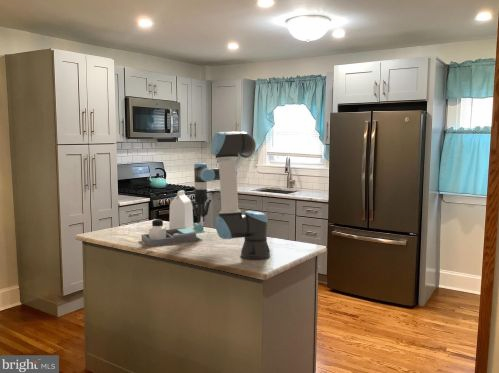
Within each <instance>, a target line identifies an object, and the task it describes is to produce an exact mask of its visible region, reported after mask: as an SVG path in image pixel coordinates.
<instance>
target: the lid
mask: <svg viewBox="0 0 499 373" xmlns="http://www.w3.org/2000/svg"><path fill="white" fill-rule="evenodd" d="M193 226H194V228H185V229H177V231H178V232H180V233H182V234H187V233H196V235H197V234H201V233H202V234H203V233H204V234H205V233H206V231H205V230H204V225H203V226H202V225H200V224H199V222H193Z"/></svg>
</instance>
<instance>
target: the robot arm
mask: <svg viewBox="0 0 499 373" xmlns="http://www.w3.org/2000/svg"><path fill="white" fill-rule="evenodd" d="M256 146H257V144H256V141H255V138H254V137H253V135H251V134H250V133H248V132H246V131H217V132H215V133H214V134H213V136H212V138H211V143H210V151H211V154H212V155H213V156H215V160H216V161H217V162H218V167H208V164H207V163H205V162H197V163H195V164H194V165H193V166H194V167H193V171H194V174H193V176H194V197H193V199H191V201H190V202H191V203H192V210H193V215H194V216H195V217H197V223H198V224H200V225H202V226H204V222H205V218H206V216H208V213H209V208H210V204H211V202H212V199H210V198H209V197H208V189H207V188H208V183H209V182H213V181H214V182H215V181H219V187H220V188H219V189H220V190H219V191H220V205H221V206H220V208H221V209H220V210H219V212H218V216H216V217H215V220H214V225H215V230H216V233H217V235H218V237H219V238H220V239H221V240H232V239H240V238H241V239H242V238H243V239H244V242H243V243H242V247H241V251H240V256H241V257H242V258H243V259H248V260H265V259H268V258H269V257H271V251H270V248H269V245H268V240H267V239H268V216H267V214H266V213H265V212H261V211H254V210H245V211H244V214H242V210H241V209H240V208H239V197H238V194H239V193H238V180H237V178H238V177H237V175H238V170H239V169H240V167H241V166H242V165H243V163H244V162H245V161H247V159H248V158H251V157H252V155H254V153H255V151H256V148H257V147H256Z"/></svg>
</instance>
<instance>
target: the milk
mask: <svg viewBox="0 0 499 373" xmlns="http://www.w3.org/2000/svg"><path fill="white" fill-rule="evenodd" d="M190 201H192V199H191V198H189V196H188V195H186V194H185V190H179V191H177V193H176V196H175V197H174V199H172V200H171V202H170V203H169V220H168V221H169V223H168V224H169V226H168V230H169V229H178V228H194V210H193V206H192V203H191V202H190Z"/></svg>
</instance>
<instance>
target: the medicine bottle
mask: <svg viewBox="0 0 499 373" xmlns="http://www.w3.org/2000/svg"><path fill="white" fill-rule="evenodd" d="M163 222H164V221H163V220H162V219H161V218H157V219H156V218H155V219H152V220H151V227H150V228H148V234H149V239H151V240H155V239H163V238H166V230H167V227H164V223H163Z"/></svg>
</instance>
